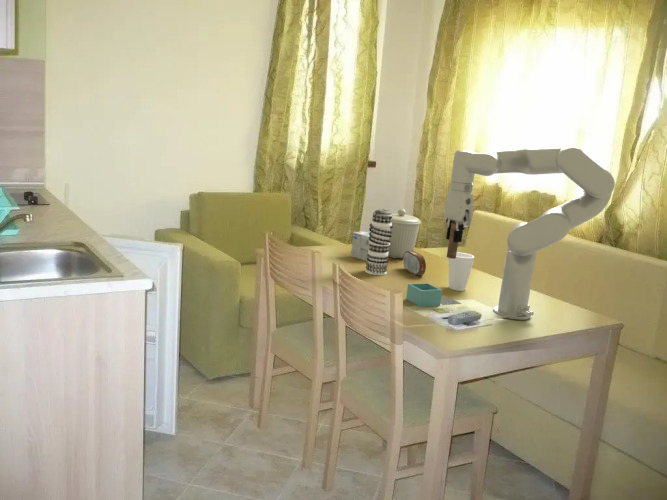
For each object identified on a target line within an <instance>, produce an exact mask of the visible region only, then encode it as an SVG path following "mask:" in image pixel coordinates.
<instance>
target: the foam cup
mask: <svg viewBox="0 0 667 500" xmlns="http://www.w3.org/2000/svg"><path fill="white" fill-rule="evenodd" d="M447 258H448V257H447ZM447 260H448V288H449V289H450V290H453V291H459V292H462V291H463V292H464V291H466V289H467V285H468V281H469V278H470V275H471V271H472V267H473V264H474V260H475V255H473V254H470V253H468V252H467V253H466V252H459V251H457V254H456V258H455V259H452V258H448V259H447Z"/></svg>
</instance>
